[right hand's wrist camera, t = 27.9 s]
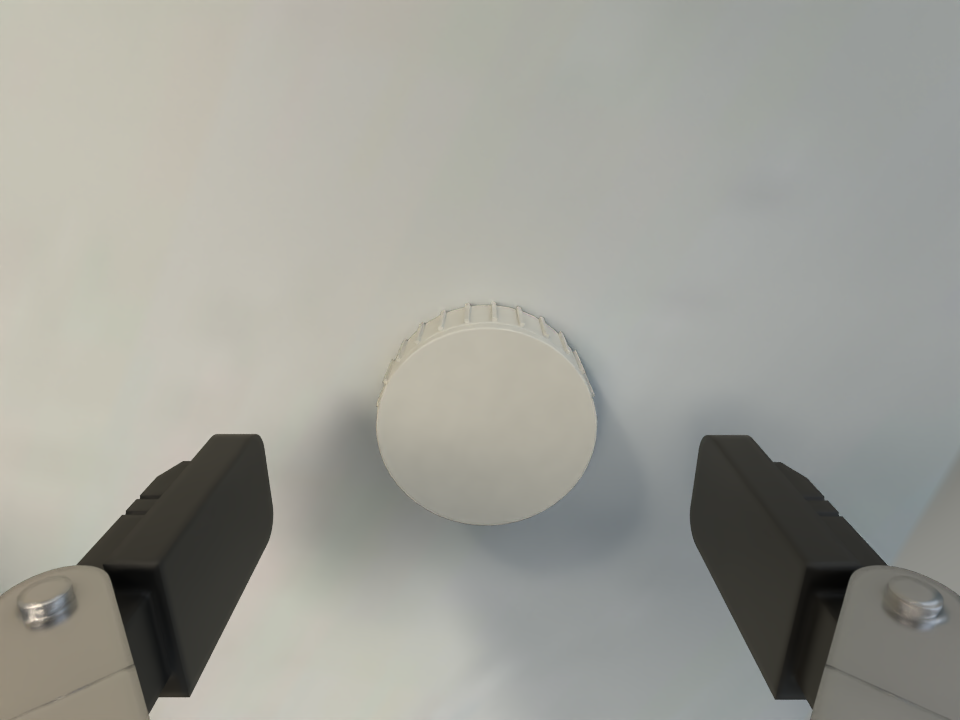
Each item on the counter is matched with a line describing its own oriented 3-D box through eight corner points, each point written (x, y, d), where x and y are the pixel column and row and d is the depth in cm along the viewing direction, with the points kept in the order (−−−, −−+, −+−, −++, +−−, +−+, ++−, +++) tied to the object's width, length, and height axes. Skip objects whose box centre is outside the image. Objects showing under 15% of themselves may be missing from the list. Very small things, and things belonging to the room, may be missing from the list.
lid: (599, 307, 15) (616, 331, 13) (573, 491, 16) (584, 535, 15) (387, 293, 14) (373, 315, 13) (384, 480, 16) (371, 522, 14)
